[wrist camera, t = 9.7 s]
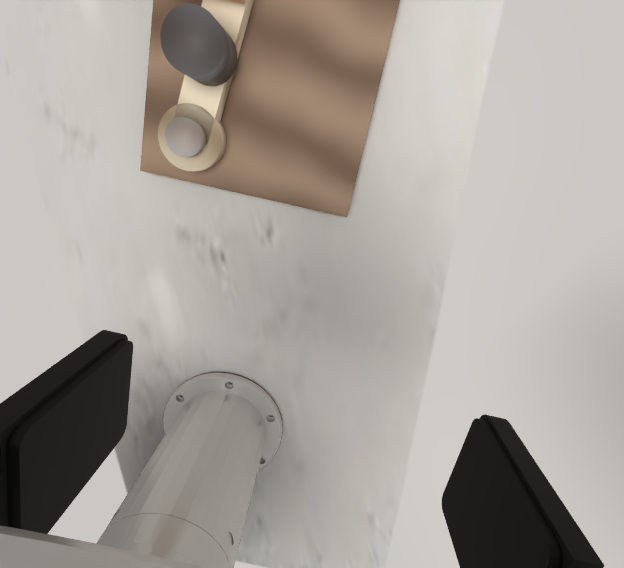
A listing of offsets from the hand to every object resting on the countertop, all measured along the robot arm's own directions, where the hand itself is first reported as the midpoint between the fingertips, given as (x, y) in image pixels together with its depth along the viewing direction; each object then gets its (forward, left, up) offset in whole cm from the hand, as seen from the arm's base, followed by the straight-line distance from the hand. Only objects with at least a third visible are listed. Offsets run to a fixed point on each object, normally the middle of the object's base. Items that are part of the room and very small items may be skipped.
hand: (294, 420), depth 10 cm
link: (+11, +11, -24) cm, 29 cm away
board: (+14, +8, -26) cm, 31 cm away
